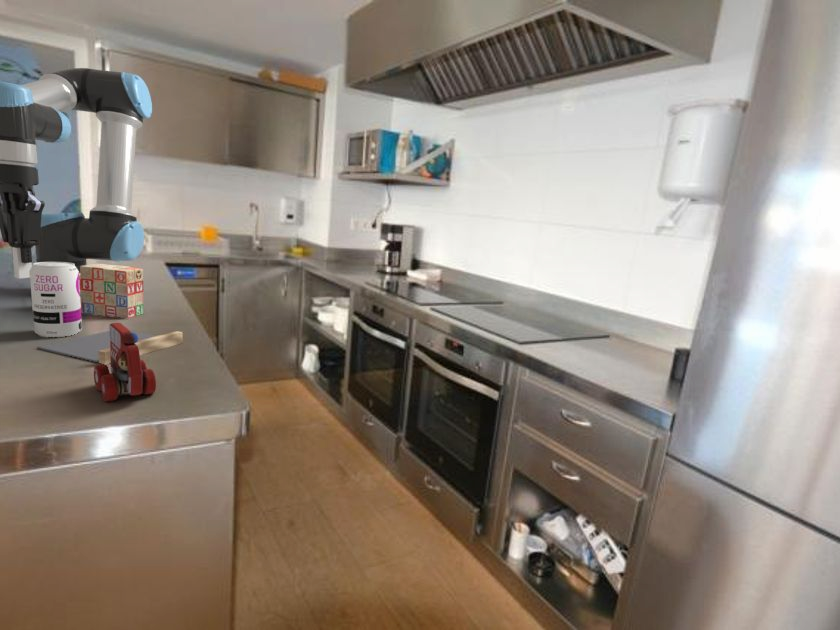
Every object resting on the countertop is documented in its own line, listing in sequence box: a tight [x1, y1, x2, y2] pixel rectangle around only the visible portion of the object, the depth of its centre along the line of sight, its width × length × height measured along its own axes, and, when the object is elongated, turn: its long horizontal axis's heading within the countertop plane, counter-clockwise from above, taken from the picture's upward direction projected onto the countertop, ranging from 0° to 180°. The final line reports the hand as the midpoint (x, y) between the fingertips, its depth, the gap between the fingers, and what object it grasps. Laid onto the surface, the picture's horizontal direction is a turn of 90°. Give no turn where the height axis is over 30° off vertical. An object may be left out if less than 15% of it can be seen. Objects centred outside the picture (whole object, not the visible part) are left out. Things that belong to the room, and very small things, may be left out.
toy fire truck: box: [93, 322, 157, 403], centre depth 77 cm, size 7×12×10 cm, turn 43°
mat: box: [36, 329, 157, 363], centre depth 100 cm, size 18×16×1 cm
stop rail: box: [98, 330, 184, 365], centre depth 97 cm, size 18×2×2 cm, turn 161°
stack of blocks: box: [79, 263, 145, 319], centre depth 123 cm, size 21×6×12 cm, turn 84°
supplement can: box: [29, 262, 83, 338], centre depth 103 cm, size 8×8×15 cm
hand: (23, 277), depth 105 cm, fingers closed
